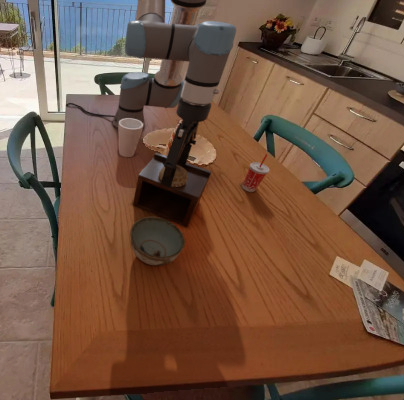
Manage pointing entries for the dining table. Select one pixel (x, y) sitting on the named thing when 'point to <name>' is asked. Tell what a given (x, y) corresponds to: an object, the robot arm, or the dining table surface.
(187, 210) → the shelf
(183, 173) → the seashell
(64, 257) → the dining table surface
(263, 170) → the beverage cup
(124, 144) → the foam cup
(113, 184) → the dining table surface
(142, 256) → the bowl
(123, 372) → the dining table surface
